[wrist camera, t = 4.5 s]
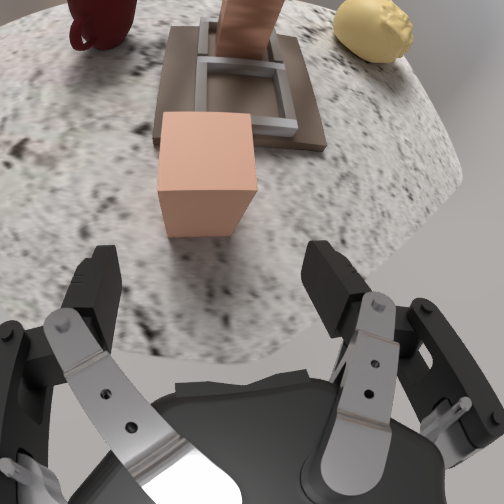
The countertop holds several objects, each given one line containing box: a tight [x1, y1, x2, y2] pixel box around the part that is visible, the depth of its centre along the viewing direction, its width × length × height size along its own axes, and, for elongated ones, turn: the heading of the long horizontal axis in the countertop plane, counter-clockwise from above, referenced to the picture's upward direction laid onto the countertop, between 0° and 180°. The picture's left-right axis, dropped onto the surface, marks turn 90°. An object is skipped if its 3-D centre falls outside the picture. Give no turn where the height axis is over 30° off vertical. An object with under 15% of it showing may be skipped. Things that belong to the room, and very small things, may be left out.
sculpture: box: [333, 0, 413, 63], centre depth 29 cm, size 11×12×11 cm
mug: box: [67, 0, 137, 51], centre depth 20 cm, size 11×8×10 cm
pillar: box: [157, 112, 258, 238], centre depth 19 cm, size 5×5×9 cm
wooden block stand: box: [153, 0, 327, 152], centre depth 22 cm, size 16×18×10 cm
